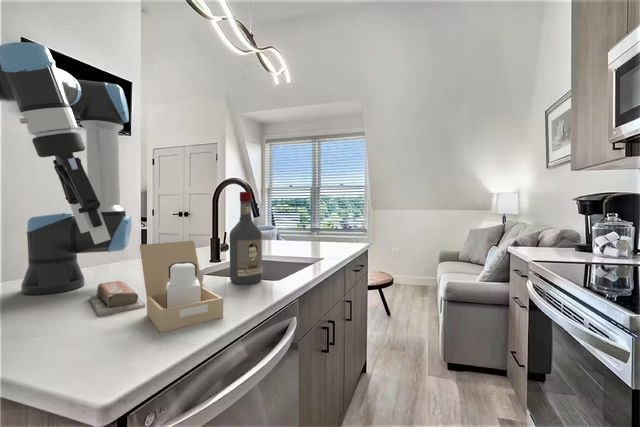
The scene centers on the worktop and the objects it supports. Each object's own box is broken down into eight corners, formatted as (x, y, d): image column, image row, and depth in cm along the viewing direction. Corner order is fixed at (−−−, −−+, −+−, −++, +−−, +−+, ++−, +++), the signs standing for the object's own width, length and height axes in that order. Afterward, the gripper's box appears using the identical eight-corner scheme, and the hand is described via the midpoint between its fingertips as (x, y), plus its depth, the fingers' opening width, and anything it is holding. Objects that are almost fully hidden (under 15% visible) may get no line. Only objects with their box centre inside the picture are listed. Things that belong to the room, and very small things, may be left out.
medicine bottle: (167, 311, 77) (166, 261, 77) (198, 307, 80) (198, 259, 80) (166, 321, 71) (165, 267, 71) (201, 316, 74) (200, 264, 73)
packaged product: (88, 283, 89) (129, 277, 96) (89, 300, 89) (130, 294, 96) (98, 297, 76) (145, 290, 82) (98, 318, 76) (145, 308, 82)
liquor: (227, 281, 109) (226, 192, 108) (251, 276, 116) (250, 192, 114) (240, 286, 103) (239, 191, 102) (265, 281, 109) (264, 192, 108)
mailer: (141, 307, 82) (139, 244, 81) (194, 297, 90) (193, 240, 90) (161, 332, 66) (159, 254, 66) (223, 317, 75) (222, 248, 74)
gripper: (25, 139, 68) (64, 232, 75) (37, 132, 51) (86, 255, 57) (68, 134, 73) (101, 222, 79) (92, 126, 56) (131, 239, 62)
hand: (95, 236), depth 68 cm, fingers open, 13 cm apart
